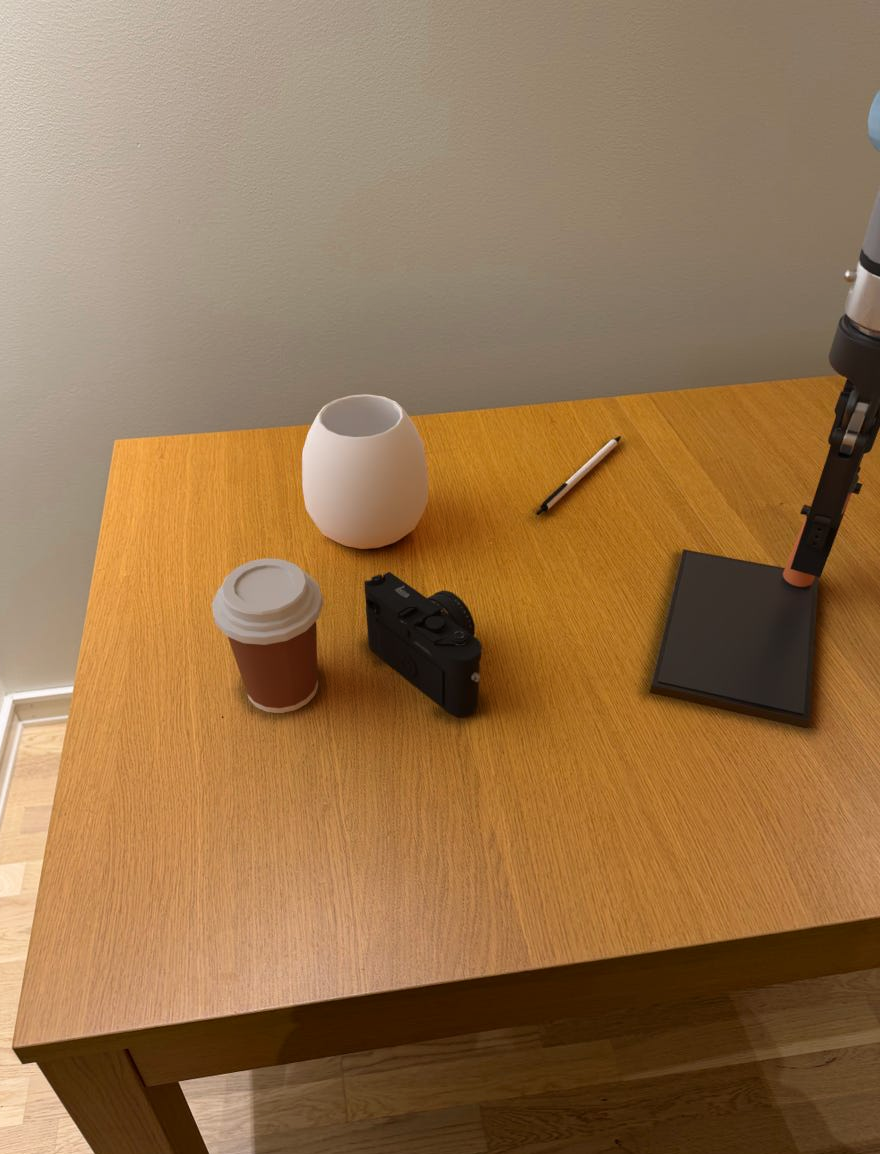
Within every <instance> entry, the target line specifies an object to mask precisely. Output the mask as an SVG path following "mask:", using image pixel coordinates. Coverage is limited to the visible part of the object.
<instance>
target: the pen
mask: <svg viewBox="0 0 880 1154" xmlns="http://www.w3.org/2000/svg"><path fill="white" fill-rule="evenodd" d="M621 438H622V435H619V436H616V437H614V438H612V439H611V440H610V441H608V443H607V444H605V445H604V446H603V447H602V448H601V449H600V450H598V452H597V453H595V454H594V455H593V456H592V457H591V458H590V459H589V460H588V461H587V462H586V463H585V464H584V465H583V466H581V467H580V469H578V470H577V471H576V472H575V473H574V474H572V476H571V477H570V478H569V479H568V480H567V481H565V482H563V483H562V484H561V485H560V486H559V487H558V488H557V489H555V491H553V492H552V493H551V494H550V495H549V496H548V497H547V498H546V499H545V500H544V501H543V502H542V504H540V508H539V510H537V512H536V516H540V515H541V514H542V513H543V512H544V513H546V512H548V511H549V510H550V509H551V508H552V507H553V506H554V505H555V504H556V503H558V501H559V500H561V499H562V497H563V496H565V495H566V494H567V493H568V492H569V491H570V490H571V489H572V488H573V487H574V486H575V485H576V484H577V483H578V482H579V481H580V480H582V479H583V478H584V477H585V476H586V475H587V474H588V473H590V471H591V470H593V468H594V467H595V466H596V465H598V464H599V463H600V462H601V461H602V460H603V459H604V458H605V457H606V456H607V455H608V454H610V452H611V451H612V450H613V449H615V448H616V447H617V446H618V444H619V442H620V440H621Z"/></svg>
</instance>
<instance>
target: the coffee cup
mask: <svg viewBox="0 0 880 1154" xmlns="http://www.w3.org/2000/svg"><path fill="white" fill-rule="evenodd" d="M323 606H324V598H323V595H322V591H321V588H320V584H319V583H318V582H317V581H316V580H315V579H314V578H313V577H312V576H310V574H308V573H307V572H305V571H304V570H303V569H302V568H301V567H300V566H299V565H298V564H297V563H293V562H290V561H288V560H285V559H283V558H271V557H270V558H269V557H266V558H265V557H264V558H259V559H255V560H250V561H248V562H245V563H243V564H241V565H239V566H237V567H236V568H234V569H233V570H232V571H231V572H229V574H228V575H226V577H225V578H224V580H223V583H222V585H221V586H220V587H219V588H218V589H217V591H216V594H215V595H214V598H213V600H212V602H211V609H212V615H213V621H214V625H215V626H216V627H217V628H218V629H219V630H220V631H221V632H222V633H223V635H224V636H225V637H227V639H228V641H229V645H230V647H231V651H232V653H233V657H234V659H235V662H236V666H237V668H238V671H239V674H240V677H241V680H242V683H243V685H244V688H245V690H246V695H247V699H248V701H250V702H251V703H252V705H253V706H254V707H255V708H257V709H259V710H261V711H264V712H266V713H276V714H283V713H284V714H285V713H290V712H294V711H297V710H298V709H300V708H302V707H304V706H305V705H307V704H309V702H310V701H311V700H312V699H313V698H314V697H315V696H316V693H317V690H318V687H319V680H318V675H319V674H318V644H317V643H318V640H317V639H318V638H317V636H318V635H317V621H318V620H319V618H320V616H321V613H322V609H323Z"/></svg>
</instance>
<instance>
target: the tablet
mask: <svg viewBox="0 0 880 1154" xmlns="http://www.w3.org/2000/svg"><path fill="white" fill-rule="evenodd" d="M784 569H785V567H782V566H777V565H771V564H765V563H760V562H754V561H750V560H743V559H738V558H732V557H728V556H727V557H726V556H721V555H716V554H711V553H705V552H700V551H694V550H688V549H682V551H681V555H680V561H679V564H678V568H677V573H676V577H675V580H674V585H673V589H672V594H671V598H670V602H669V607H668V611H667V614H666V620H665V624H664V628H663V631H662V636H661V641H660V645H659V650H658V654H657V658H656V661H655V666H654V670H653V675H652V678H651V679H652V680H651V683H650V684H651V685H650V687H649V693H651V694H656V695H660V696H665V697H668V698H673V699H678V700H682V701H687V702H690V703H696V704H700V705H703V706H704V705H705V706H707V707H708V706H709V707H713V708H716V709H721V710H726V711H731V712H735V713H739V714H743V715H747V716H752V717H756V718H761V719H765V720H770V721H774V722H778V723H783V724H788V725H792V726H796V727H801V728H806V729H807V727H808V725H809V723H810V720H811V719H810V718H811V703H812V689H813V672H814V671H813V670H814V657H815V656H814V655H815V641H816V640H815V639H816V622H817V607H818V592H819V579H820V577H817V576H815V578H814V581H813V583H812V584H811V585H809V586H807V587H798V586H794V585H792V584H790V583H788V582H787V581H786V580H785V579H784V577H783V572H784Z"/></svg>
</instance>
